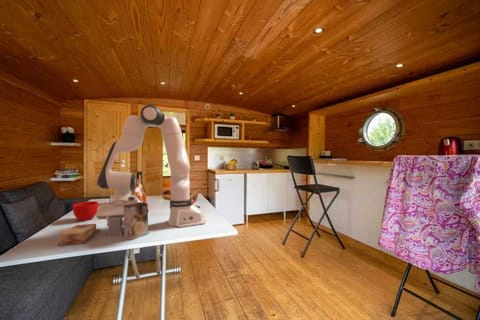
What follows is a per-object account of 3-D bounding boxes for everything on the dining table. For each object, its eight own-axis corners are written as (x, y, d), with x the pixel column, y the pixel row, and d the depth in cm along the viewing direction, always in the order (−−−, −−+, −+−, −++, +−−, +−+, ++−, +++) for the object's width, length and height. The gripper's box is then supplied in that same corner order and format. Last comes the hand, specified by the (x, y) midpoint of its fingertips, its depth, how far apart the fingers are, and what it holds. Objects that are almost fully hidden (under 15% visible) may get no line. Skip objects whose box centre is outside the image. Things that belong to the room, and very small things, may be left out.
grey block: (122, 231, 111) (122, 216, 111) (119, 234, 107) (119, 219, 106) (112, 232, 110) (111, 217, 110) (108, 235, 105) (108, 220, 105)
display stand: (99, 231, 112) (99, 219, 112) (85, 243, 96) (85, 229, 96) (75, 233, 109) (75, 220, 109) (57, 246, 94) (57, 231, 93)
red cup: (108, 217, 136) (108, 202, 135) (76, 224, 123) (75, 207, 122) (101, 213, 144) (101, 199, 144) (70, 219, 131) (70, 204, 131)
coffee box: (141, 231, 111) (140, 201, 111) (148, 234, 108) (148, 203, 107) (123, 237, 103) (123, 205, 103) (131, 240, 100) (130, 207, 99)
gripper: (98, 199, 112) (90, 223, 103) (139, 197, 118) (135, 220, 108) (101, 206, 117) (94, 229, 108) (141, 203, 122) (137, 226, 113)
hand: (115, 224), depth 108 cm, fingers closed on grey block, 5 cm apart
